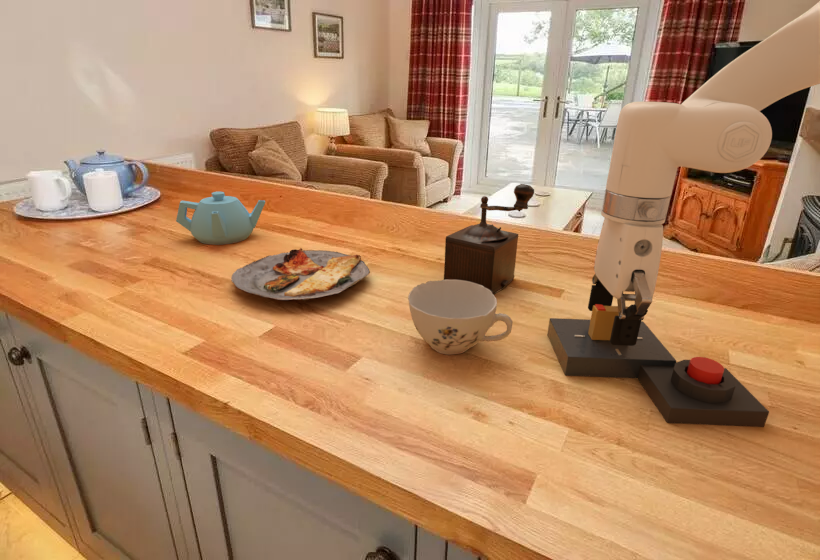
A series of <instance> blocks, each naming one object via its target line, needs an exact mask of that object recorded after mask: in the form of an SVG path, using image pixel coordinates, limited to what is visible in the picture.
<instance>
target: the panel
mask: <svg viewBox="0 0 820 560" xmlns="http://www.w3.org/2000/svg"><path fill="white" fill-rule="evenodd" d="M590 320H591V319H582V318H560V317H559V318H557V317H556V318H554V317H549V322H548V328H547V335H546V336H547V339H548V340H549V342H550V344H551V347H552V349H553V352H554V354H555V356H556V359H557V360H558V363H559V365H560V368H561V369H562V373H563V374H564V376H565V377H585V378H586V377H587V378H588V377H589V378H613V379H614V378H615V379H637V380H638V374H639V370H640V366H641V365H656V366H674V365H675V363H676V362H677V359H676V358H675V356H673V354H672V353H671V352H670V351H669V350H668V349H667V347H666V346H665V345H664V344H663V343H662V342H661V340H660V339H659V338H658V337H657V336H656V335H655V333H653V331H652V330H651V329H650V327H648V325H647V324H646V323H645V321H644V320H641V325H640V329H639V333H638V337H637V342H636V344H635V345H634V346H627V345H612V344H611V342H610V340H592V339H591V338H590V336H589V334H588V331H589V326H590Z"/></svg>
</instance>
